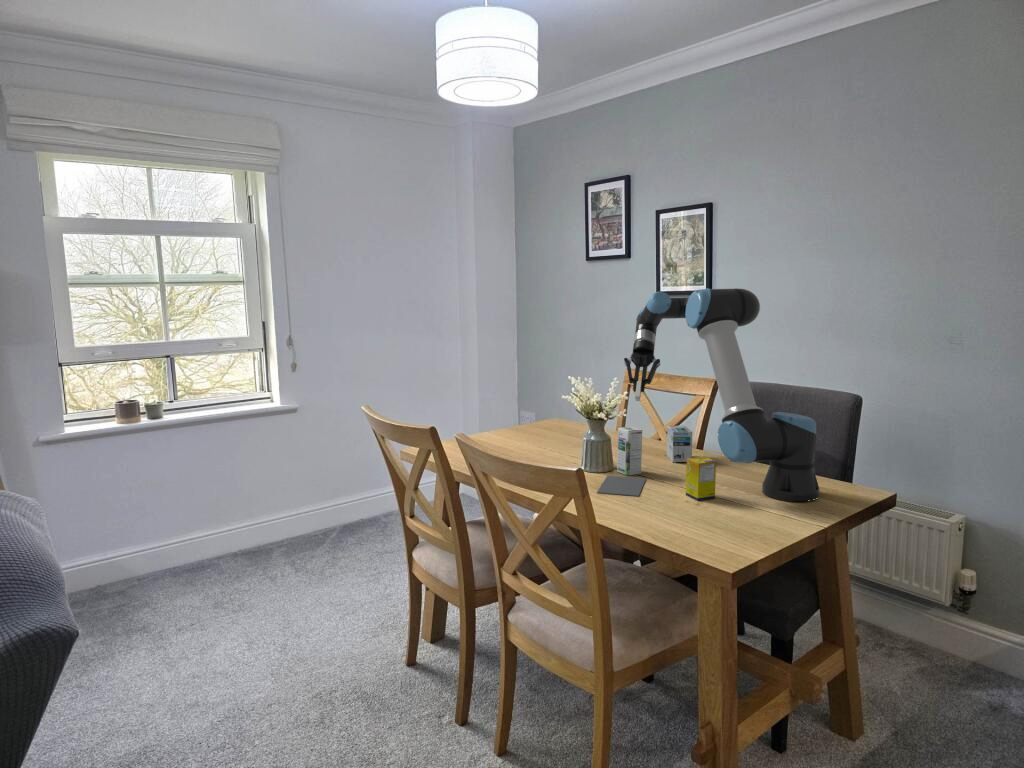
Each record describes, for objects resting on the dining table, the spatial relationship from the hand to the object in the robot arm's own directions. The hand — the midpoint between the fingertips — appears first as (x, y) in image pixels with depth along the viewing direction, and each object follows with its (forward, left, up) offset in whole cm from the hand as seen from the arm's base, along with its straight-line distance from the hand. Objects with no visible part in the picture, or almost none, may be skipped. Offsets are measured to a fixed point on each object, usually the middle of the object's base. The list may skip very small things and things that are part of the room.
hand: (637, 398), depth 233 cm
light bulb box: (-5, -13, -21) cm, 26 cm away
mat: (-30, +17, -21) cm, 40 cm away
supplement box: (-45, 0, -21) cm, 50 cm away
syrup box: (-17, +10, -21) cm, 29 cm away
